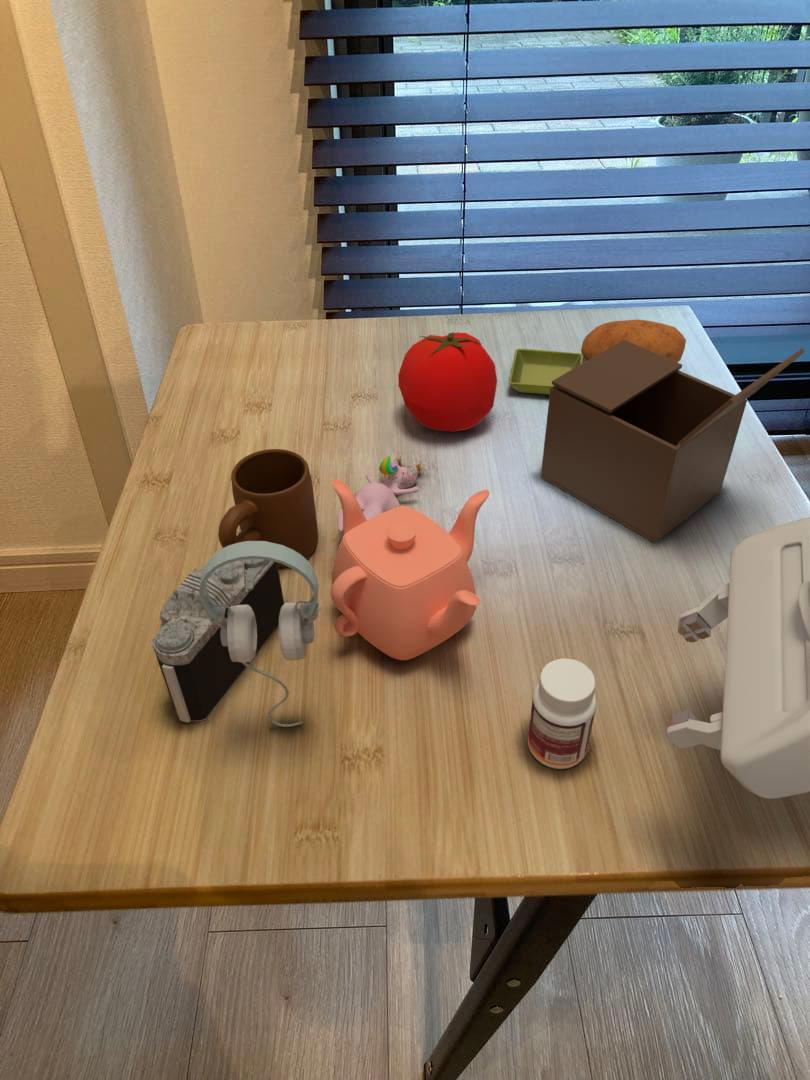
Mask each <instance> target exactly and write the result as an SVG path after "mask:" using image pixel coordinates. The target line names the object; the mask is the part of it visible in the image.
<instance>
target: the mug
mask: <svg viewBox="0 0 810 1080" xmlns="http://www.w3.org/2000/svg"><path fill="white" fill-rule="evenodd" d="M230 480H231V490H232V496H233V497H232V498H233V502H234V505H233V506H231V507H230V508H228V510H227V511H226V512H225V513H224V515H223V517H222V518H221V520H220V522H219V526H218V533H217V534H218V535H217V536H218V541H219V544H220V546H221V547H222V549H223V548H225V547H227V546H229V545H232V544H235V543H239V542H245V541H267V542H271V543H275V544H279V545H283V546H286V547H288V548H290V549H292V550H294V551H296V552H297V553H299V554H301V555H302V556H303V557H304V558H305V559H306V560H307V558H309V557H310V556H311V555H312V554H313V552H314V551H315V549H316V547H317V546H318V542H319V541H318V540H319V528H318V521H317V511H316V503H315V494H314V487H313V480H312V476H311V472H310V467H309V464H308V462H307V460H306V459H305V458H304V457H303V456H302V455H300V454H299V453H297V452H295V451H291V450H289V449H283V448H282V449H281V448H268V449H267V448H266V449H262V450H258V451H255V452H253V453H250V454H247V455H246V456H244V457H243V458H241V459H240V460H238V462H237V463H236V464H235V465H234V467H233V469H232V470H231V474H230ZM238 528H239V530H240V532H239V533H237V531H238ZM277 565H278V568H287V566H286V565H283V564H281V563H278V562H277Z"/></svg>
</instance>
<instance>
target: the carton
mask: <svg viewBox="0 0 810 1080" xmlns="http://www.w3.org/2000/svg"><path fill="white" fill-rule="evenodd" d="M682 368H683V364H682V363H679V362H678V363H677V362H675V361H672V360H670V359H668V358H665V357H663V356H661V355H658V354H656V353H654V352H651V351H649V350H647V349H644V348H642V347H640V346H637V345H635V344H633V343H630V342H628V341H626V340H623V341H621V342H619V343H617V344H616V345H614V346H612V347H610V348H609V349H607V350H605V351H603V352H602V353H600V354H598V355H596V356H595V357H593V358H591V359H590V360H586V361H583V362H582V364H581V365H579V366H577V367H576V368H574V369H572V370H570V371H569V372H567V373H565V374H563V375H562V376H560V377H558V378H557V379H555V380H553V381H552V385H554V386H553V387H551V388H550V395H549V396H548V407H547V416H546V423H545V436H544V443H543V453H542V463H541V470H540V471H541V472H540V478H541V479H543V480H544V481H546V482H548V483H549V484H551V485H553V486H554V487H556V488H558V489H560V490H561V491H563V492H565V493H567V494H568V495H571V496H572V497H574V498H576V499H577V500H579V501H581V502H583V503H584V504H586V505H588V506H589V507H591V508H593V509H595V510H596V511H598V512H600V513H602V514H603V515H605V516H607V517H608V518H609V519H612V520H614V521H616V522H617V523H619V524H620V525H622V526H625V527H626V528H628V529H630V530H631V531H633V532H634V533H637V534H638V535H640V536H642V537H644V538H645V539H647V540H648V541H650V542H652V543H654V544H656V543H657V542H659V541H660V540H661V539H662V538H664V537H665V536H666V535H667V534H668V533H670V532H671V531H673V530H674V529H675V528H676V527H678V526H679V525H680V524H681V523H682V522H684V521H685V520H686V519H688V518H689V517H690V516H691V515H692V514H694V513H695V512H696V511H698V510H699V509H700V508H701V507H703V506H704V505H705V504H707V503H708V502H709V501H710V500H711V499H713V498H714V497H715V496H716V495H718V494H719V493H720V492H721V491H722V488H723V484H724V481H725V477H726V474H727V471H728V467H729V464H730V461H731V457H732V453H733V450H734V447H735V444H736V440H737V436H738V433H739V430H740V426H741V423H742V419H743V416H744V413H745V410H746V406H747V403H748V399H746V400H744V401H743V402H742V403H740V404H739V405H737V406H736V407H735V408H733V409H732V410H730V411H729V412H728V413H726V414H725V415H723V416H722V417H721V418H719V419H718V420H716V421H715V422H714V423H712V424H711V425H709V426H708V427H707V428H705V429H704V430H702V431H701V432H700V433H698V434H697V435H696V436H694V437H693V438H691V439H690V440H689V441H687V442H686V443H684V444H683V445H682V446H680V444H679V443H678V442H679V441H681V440H682V439H683V438H684V437H685V436H687V435H688V434H689V433H690V432H691V431H693V430H694V429H695V428H696V427H697V426H698V425H700V424H701V423H702V422H703V421H704V420H706V419H707V418H708V417H709V416H710V415H712V414H713V413H714V412H715V411H716V410H718V409H719V408H720V407H721V406H722V405H724V404H725V403H726V402H727V401H728V400H730V399H731V398H732V397H734V396H735V395H736V394H734V393H732V392H729V391H728V390H725V389H723V388H721V387H718V386H716V385H713V384H712V383H709V382H706V381H704V380H702V379H701V378H700V379H699V378H698V377H695V376H693V375H690V374H688V373H686V372H683V371H681V369H682Z"/></svg>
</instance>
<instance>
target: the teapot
mask: <svg viewBox="0 0 810 1080" xmlns="http://www.w3.org/2000/svg"><path fill="white" fill-rule="evenodd" d="M331 484H332V487H333V489H334V491H335V493H336V494H337V496H338V498H339V503H340V504H341V507H342V511H343V530H342V539H341V540H340V544H339V546H338V549H337V551H336V555H335V558H334V563H333V566H332V567H333V568H332V576H331V589H330V596H331V600H332V602H333V604H334V605H335V607H336V608H337V610H339V612H341V613H342V614H341V615H339V616H338V617H337V618H336V619H335V621H334V629H335V632H336V633H337V635H339V636H340V637H344V638H346V637H351V636H354V635H356V634H357V633H358V635H360V636H361V637H363V639H365V640H366V641H367V642H368V643H370V645H372V646H373V647H375V648H376V649H377V650H379V651H380V652H382V653H383V654H385V655H387V656H388V657H390V658H392V659H396V660H398V661H409V660H411V659H413V658H416V657H418V656H420V655H423V654H424V653H426V652H428V651H430V650H432V649H433V648H435V647H437V646H438V645H440V644H442V643H444V642H445V641H446V640H448V639H450V638H451V637H452V636H454V635H455V634H457V633H458V632H459V631H461V630H462V629H463V628H464V627H465V626H466V625H467V624H469V622H470V620H472V618H473V617H474V615H475V613H476V609H477V606H479V605H480V604H481V599H480V597H479V596H477V593H476V584H475V581H474V577H473V575H472V572H471V569H470V567H469V564H468V563H469V561H470V558H471V556H472V553H473V550H474V545H475V529H476V521H477V517H478V513H479V512H480V510H481V508H482V506H483V505H484V503H485V502H486V500H487V499H488V498H489V496H490V490H488V489H483V490H480V491H478V492H476V493H474V494H473V495H471V497H469V498H468V499H467V500H466V502H465V504H464V505H463V506H462V508H461V510H460V511H459V513H458V516H457V517H456V520H455V522H454V524H453V525H452V528H451V529H450V531H449V532H448V531H447V530H445V529H444V528H443V527H442V526H441V525H439V523H437V522H436V521H435V520H434V519H431V518H430V517H428V516H427V515H426V514H424V513H422V512H421V511H419V510H417V509H414V508H413V507H410V506H406V505H400V506H399V507H396V508H393V509H391V510H388V511H386V512H384V513H381V514H379V515H377V516H375V517H373V518H371V519H369V520H366V518H365V516H364V514H363V512H362V510H361V508H360V506H359V504H358V501H357V499H356V498H355V494H354V492H353V490H352V489H351V488H350V487H349V486H348V484H347V483H345V482H344V481H343V480H341V479H337V478H335V479H333V480H332V483H331Z"/></svg>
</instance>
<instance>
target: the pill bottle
mask: <svg viewBox="0 0 810 1080" xmlns="http://www.w3.org/2000/svg"><path fill="white" fill-rule="evenodd" d="M595 677H596V676H595V675H594V672H593V671H592V670H591V669H590V667H588V666H587V665H586V664H584V663H583V662H581V661H579V660H576V659H572V658H557V659H554V660H552V661H549V662H547V664H546V665H544V667H543V668H542V670H541V672H540V675H539V681H538V683H537V684H536V685H535V687H534V688H533V689H534V690H533V693H532V699H531V710H530V717H529V725H528V726H529V727H528V735H527V745H528V748H529V751H530V752H531V754H532V755H533V756H534V758H535V759H536V760H537V761H538V762H539V763H541V764H542V765H544V766H546V767H548V768H551V769H556V770H564V769H570V768H572V767H575V766H576V765H578V764H579V763H581V762H582V761H583V759H585V757H586V754H587V752H588V748H589V744H590V739H591V733H592V729H593V724H594V719H595V715H596V710H597V697H596V694H595V689H596V678H595Z"/></svg>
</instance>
